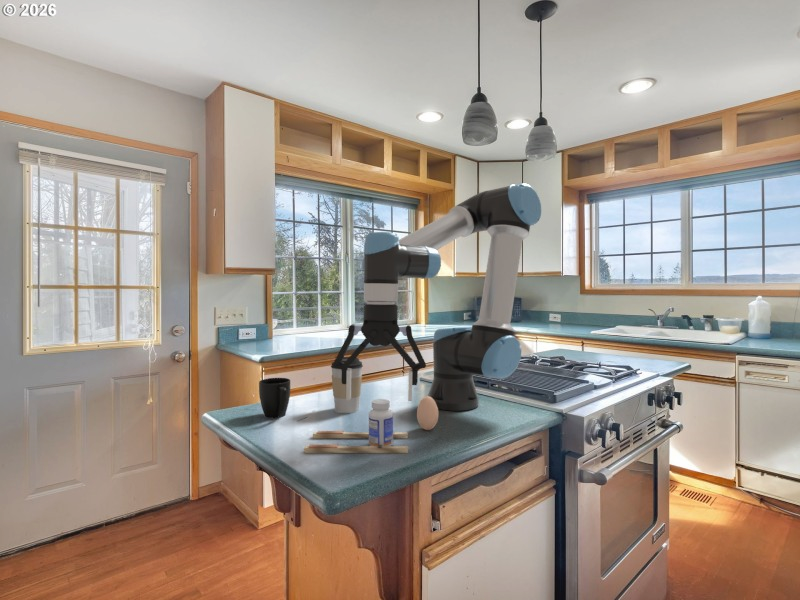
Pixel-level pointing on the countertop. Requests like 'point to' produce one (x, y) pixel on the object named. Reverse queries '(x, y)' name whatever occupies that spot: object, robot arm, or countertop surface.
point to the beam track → (353, 448)
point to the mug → (274, 396)
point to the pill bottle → (380, 423)
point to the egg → (427, 413)
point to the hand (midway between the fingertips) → (379, 399)
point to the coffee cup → (340, 389)
